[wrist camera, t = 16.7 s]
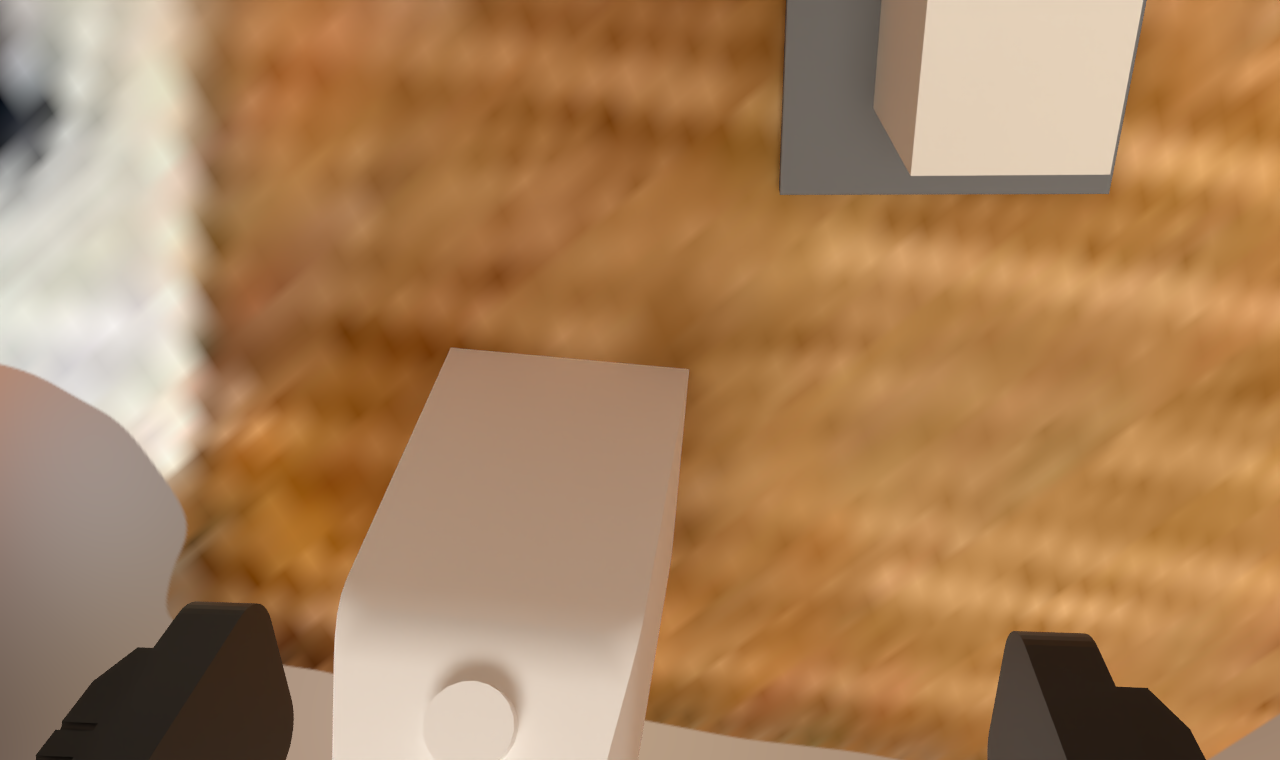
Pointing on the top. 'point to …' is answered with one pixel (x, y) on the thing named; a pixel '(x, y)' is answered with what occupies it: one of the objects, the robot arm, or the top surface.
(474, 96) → the top surface
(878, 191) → the mat
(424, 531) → the milk
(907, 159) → the white rectangular block
